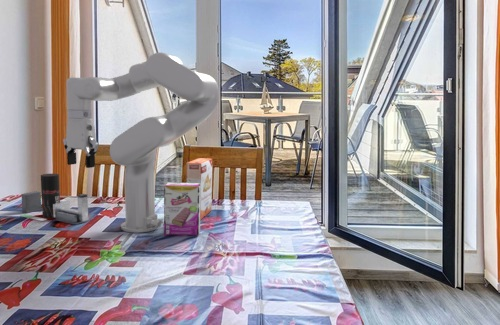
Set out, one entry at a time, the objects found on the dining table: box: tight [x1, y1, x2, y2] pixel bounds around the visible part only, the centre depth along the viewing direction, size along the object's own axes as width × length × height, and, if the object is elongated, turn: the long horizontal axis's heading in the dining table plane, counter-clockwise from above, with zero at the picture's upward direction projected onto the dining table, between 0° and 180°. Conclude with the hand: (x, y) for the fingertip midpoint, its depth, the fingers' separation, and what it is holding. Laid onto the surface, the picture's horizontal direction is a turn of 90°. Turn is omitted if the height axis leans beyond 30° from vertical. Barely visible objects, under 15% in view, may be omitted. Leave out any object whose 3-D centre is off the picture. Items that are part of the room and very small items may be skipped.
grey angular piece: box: [53, 193, 89, 222], centre depth 146 cm, size 13×6×9 cm, turn 62°
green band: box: [20, 213, 36, 220], centre depth 154 cm, size 6×13×1 cm, turn 152°
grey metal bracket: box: [55, 212, 92, 226], centre depth 146 cm, size 10×6×3 cm, turn 62°
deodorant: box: [40, 173, 61, 219], centre depth 151 cm, size 6×6×15 cm
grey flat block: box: [20, 190, 42, 214], centre depth 156 cm, size 2×6×7 cm, turn 152°
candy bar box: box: [163, 182, 201, 237], centre depth 133 cm, size 11×5×16 cm, turn 92°
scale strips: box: [31, 216, 48, 222], centre depth 151 cm, size 6×13×1 cm, turn 152°
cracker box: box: [186, 157, 213, 221], centre depth 155 cm, size 14×6×21 cm, turn 168°
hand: (81, 165), depth 142 cm, fingers open, 9 cm apart
